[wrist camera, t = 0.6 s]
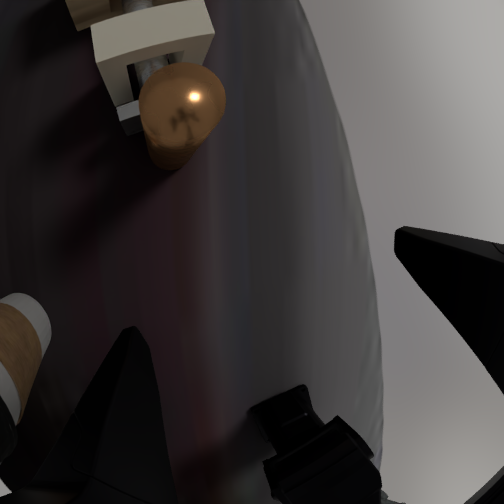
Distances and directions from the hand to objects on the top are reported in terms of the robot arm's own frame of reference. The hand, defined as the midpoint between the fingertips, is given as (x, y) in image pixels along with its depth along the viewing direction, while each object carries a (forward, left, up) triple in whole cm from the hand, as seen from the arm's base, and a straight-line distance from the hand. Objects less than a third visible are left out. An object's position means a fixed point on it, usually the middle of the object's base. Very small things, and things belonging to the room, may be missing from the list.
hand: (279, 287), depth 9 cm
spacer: (+14, +1, -16) cm, 21 cm away
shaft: (+17, +1, -15) cm, 23 cm away
